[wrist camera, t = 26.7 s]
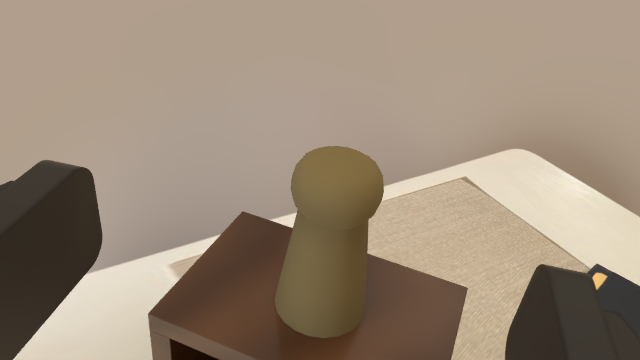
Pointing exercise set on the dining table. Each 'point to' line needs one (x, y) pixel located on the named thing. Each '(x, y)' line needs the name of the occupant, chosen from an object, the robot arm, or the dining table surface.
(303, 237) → the cork
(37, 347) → the dining table surface
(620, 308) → the wallet
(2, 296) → the robot arm
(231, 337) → the shelf
